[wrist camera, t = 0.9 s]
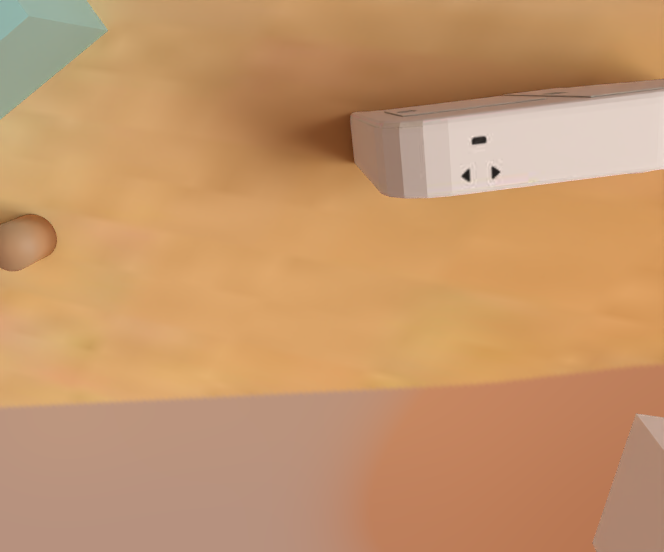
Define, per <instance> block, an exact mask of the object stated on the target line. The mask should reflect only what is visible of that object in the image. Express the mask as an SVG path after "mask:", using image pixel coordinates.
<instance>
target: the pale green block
mask: <svg viewBox="0 0 664 552" xmlns="http://www.w3.org/2000/svg"><path fill="white" fill-rule="evenodd" d="M107 31H108V30H107V28H106V27H105V26H104V24H103V23H102V21H101V20H100V19H99V17H98V16H97V14H96V13H95V12H94V10H93V9H92V8H91V6H90V5H89V3H88V2H87V1H86V0H0V119H2V118H3V117H4V116H5V115H6V114H8V113H9V112H10V111H11V110H12V109H14V108H15V107H16V106H17V105H19V104H20V103H21V102H22V101H23V100H25V99H26V98H27V97H28V96H29V95H31V94H32V93H33V92H34V91H36V90H37V89H38V88H39V87H40V86H42V85H43V84H44V83H45V82H46V81H48V80H49V79H50V78H51V77H53V76H54V75H55V74H56V73H57V72H59V71H60V70H61V69H62V68H63V67H65V66H66V65H67V64H68V63H70V62H71V61H72V60H73V59H74V58H76V57H77V56H78V55H79V54H80V53H82V52H83V51H84V50H85V49H87V48H88V47H89V46H90V45H91V44H93V43H94V42H95V41H96V40H97V39H99V38H100V37H101V36H102V35H104V34H105V33H106V32H107Z"/></svg>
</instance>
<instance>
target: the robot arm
mask: <svg viewBox="0 0 664 552" xmlns="http://www.w3.org/2000/svg"><path fill="white" fill-rule="evenodd" d="M593 545H594V547H595V550H596V552H664V418H662V417H656V416H649V415H642V414H636V416H635V419H634V422H633V425H632V427H631V431H630V433H629V436H628V439H627V442H626V445H625V448H624V451H623V454H622V457H621V460H620V463H619V466H618V469H617V472H616V475H615V478H614V481H613V484H612V487H611V490H610V492H609V496H608V498H607V501H606V504H605V507H604V510H603V513H602V516H601V519H600V522H599V525H598V528H597V531H596V534H595V537H594V540H593Z"/></svg>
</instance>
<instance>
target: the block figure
mask: <svg viewBox="0 0 664 552" xmlns="http://www.w3.org/2000/svg"><path fill="white" fill-rule="evenodd" d="M56 243H57V237H56V232H55V230H54V228H53V226H52V225H51V224H50V223H49V222H48V221H47V220H46V219H45V218H43V217H41V216H38V215H34V214H28V215H24V216H21V217H19V218H16V219H14V220H11V221H8V222H6V223H3V224H0V268H2V269H4V270H7V271H19V270H22V269H24V268H26V267H27V266H29V265H31V264H33V263H35V262H37V261H39V260H41V259H43V258H45V257H46V256H48V255H50V254H51V253H52V252H53V251H54V249H55V247H56Z"/></svg>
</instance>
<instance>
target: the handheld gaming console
mask: <svg viewBox="0 0 664 552" xmlns="http://www.w3.org/2000/svg"><path fill="white" fill-rule="evenodd" d="M350 124H351V134H352V144H353V153H354V162H355V164H356V165H357V166H358V167H359V168H360V170H361V171H362V172H363V173H364V174H365V175H366V176H367V178H368V179H369V180H370V181H371V182H372V183H373V184H374V186H375V187H376V188H377V189H378V190H379V191H380V192H381V193H382V194H384V195H386V196H389V197H397V198H434V197H446V196H456V195H463V194H471V193H479V192H487V191H495V190H502V189H510V188H518V187H526V186H534V185H542V184H549V183H557V182H565V181H573V180H581V179H589V178H596V177H604V176H612V175H620V174H632V173H643V172H649V171H652V170H660V169H664V79H658V80H647V81H637V82H625V83H612V84H599V85H589V86H578V87H569V88H552V89H544V90H536V91H528V92H520V93H512V94H504V95H502V96H494V97H486V98H478V99H470V100H462V101H454V102H445V103H437V104H429V105H421V106H413V107H405V108H396V109H388V110H378V111H366V112H353V113H352V114H351V116H350Z"/></svg>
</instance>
